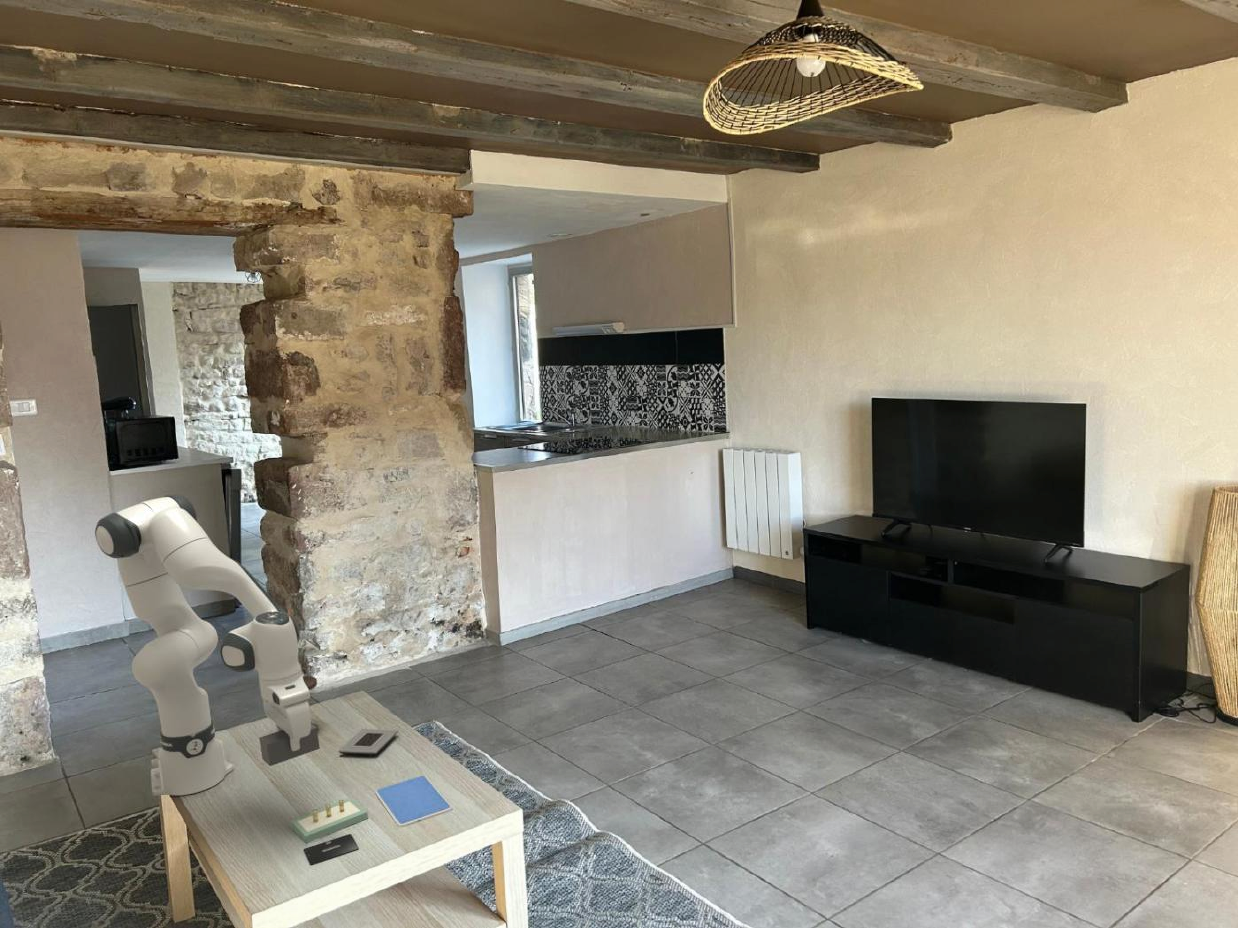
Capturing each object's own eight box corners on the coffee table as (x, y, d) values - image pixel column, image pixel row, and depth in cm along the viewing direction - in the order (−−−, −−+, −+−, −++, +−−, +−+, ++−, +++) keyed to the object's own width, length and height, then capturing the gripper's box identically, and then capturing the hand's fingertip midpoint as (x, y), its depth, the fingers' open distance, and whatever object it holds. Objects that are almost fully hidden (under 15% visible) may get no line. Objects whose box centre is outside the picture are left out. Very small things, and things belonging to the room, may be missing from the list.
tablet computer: (454, 812, 202) (453, 806, 202) (399, 830, 196) (399, 824, 196) (425, 778, 219) (424, 773, 219) (374, 794, 212) (373, 789, 212)
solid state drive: (303, 851, 189) (303, 848, 189) (351, 836, 194) (350, 833, 194) (310, 867, 183) (310, 864, 183) (359, 851, 188) (359, 848, 188)
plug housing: (262, 758, 198) (259, 737, 197) (311, 741, 205) (308, 721, 204) (269, 766, 194) (266, 744, 193) (319, 748, 201) (316, 727, 200)
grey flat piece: (376, 760, 230) (375, 751, 230) (338, 758, 232) (338, 749, 232) (398, 737, 243) (398, 729, 242) (363, 736, 245) (362, 727, 244)
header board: (291, 826, 199) (289, 809, 198) (351, 803, 208) (349, 787, 207) (306, 842, 192) (304, 825, 191) (367, 817, 201) (366, 801, 200)
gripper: (252, 678, 203) (260, 735, 205) (283, 702, 187) (291, 764, 189) (280, 670, 207) (288, 726, 209) (312, 692, 191) (320, 753, 193)
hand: (290, 744), depth 199 cm, fingers closed on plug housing, 5 cm apart
